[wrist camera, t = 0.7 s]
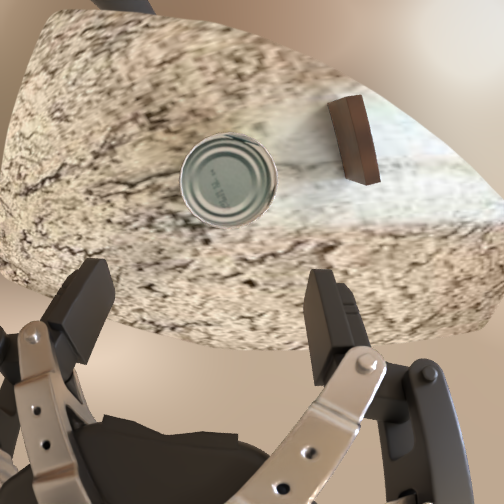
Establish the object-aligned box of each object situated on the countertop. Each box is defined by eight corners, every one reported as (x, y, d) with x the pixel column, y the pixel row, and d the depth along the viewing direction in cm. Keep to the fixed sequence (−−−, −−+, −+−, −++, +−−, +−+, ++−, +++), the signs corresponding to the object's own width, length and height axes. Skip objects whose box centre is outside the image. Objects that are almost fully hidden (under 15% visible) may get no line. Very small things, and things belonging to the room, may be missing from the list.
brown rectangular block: (327, 103, 31) (345, 96, 25) (341, 101, 31) (361, 94, 25) (345, 178, 35) (366, 185, 29) (359, 175, 35) (381, 181, 29)
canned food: (240, 212, 35) (246, 245, 24) (184, 182, 33) (162, 201, 22) (273, 157, 33) (296, 164, 22) (216, 125, 31) (209, 114, 20)
